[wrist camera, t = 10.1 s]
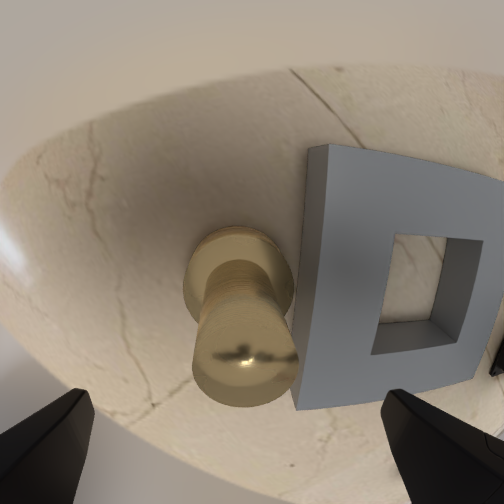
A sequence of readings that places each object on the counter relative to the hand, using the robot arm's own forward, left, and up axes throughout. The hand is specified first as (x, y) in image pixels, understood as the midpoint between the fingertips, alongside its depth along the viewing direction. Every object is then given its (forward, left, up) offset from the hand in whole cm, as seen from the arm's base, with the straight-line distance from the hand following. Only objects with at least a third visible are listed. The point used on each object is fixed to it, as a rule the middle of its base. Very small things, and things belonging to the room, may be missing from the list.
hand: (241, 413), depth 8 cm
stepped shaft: (0, 0, -12) cm, 12 cm away
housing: (-12, 0, -12) cm, 17 cm away
